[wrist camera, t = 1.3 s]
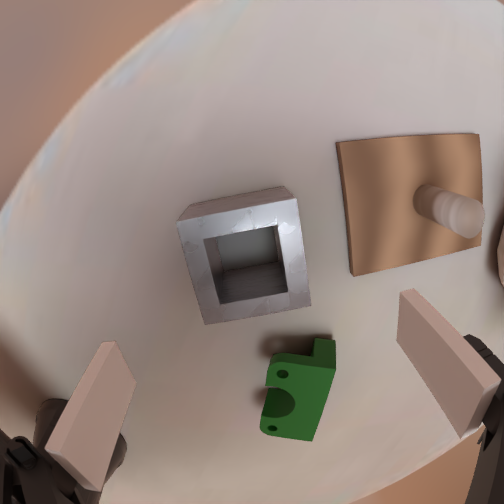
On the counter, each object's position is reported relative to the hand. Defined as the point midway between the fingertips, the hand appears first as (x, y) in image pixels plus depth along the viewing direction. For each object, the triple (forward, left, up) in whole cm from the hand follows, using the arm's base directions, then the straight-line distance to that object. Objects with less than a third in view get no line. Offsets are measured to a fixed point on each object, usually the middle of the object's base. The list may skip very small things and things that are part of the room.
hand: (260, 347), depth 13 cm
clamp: (+2, -16, -15) cm, 22 cm away
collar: (0, 0, -15) cm, 15 cm away
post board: (+17, +1, -15) cm, 22 cm away
